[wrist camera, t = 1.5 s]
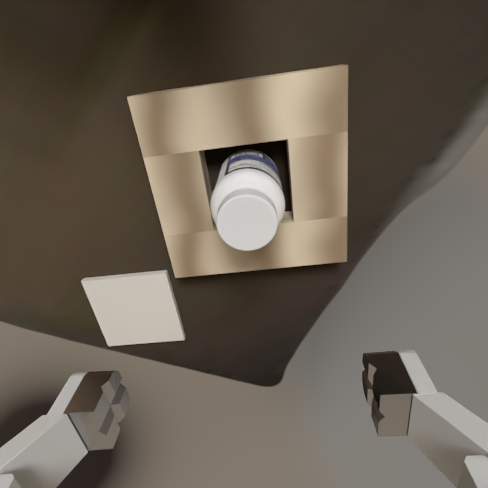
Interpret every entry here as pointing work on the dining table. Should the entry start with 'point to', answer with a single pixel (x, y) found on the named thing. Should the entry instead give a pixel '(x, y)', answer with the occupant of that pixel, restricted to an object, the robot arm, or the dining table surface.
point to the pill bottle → (247, 200)
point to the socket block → (242, 133)
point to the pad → (135, 308)
